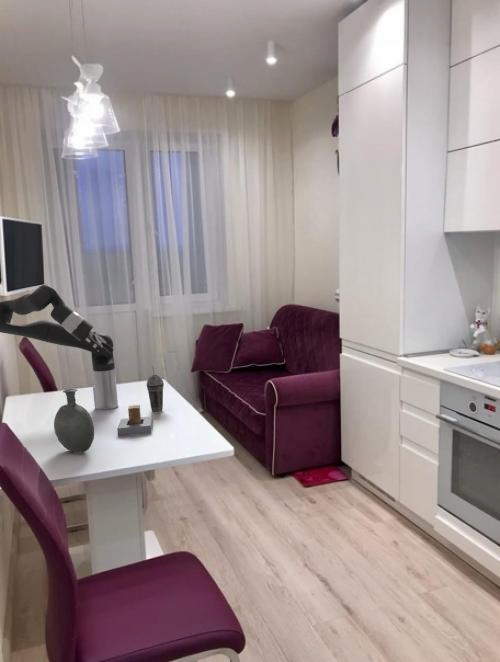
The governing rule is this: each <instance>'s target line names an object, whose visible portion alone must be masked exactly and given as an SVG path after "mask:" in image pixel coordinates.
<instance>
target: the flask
mask: <svg viewBox="0 0 500 662" xmlns="http://www.w3.org/2000/svg"><path fill="white" fill-rule="evenodd" d="M77 391H78V389H77V388H67V389H64V390H62V393H65V397H66V404H64V405H61V406H60V407H59V409H58V410H57V412H56V413H55V416H54V419H53V429H54V433H55V436H56V439H57V440H58V442H59V443H60V445H62V446H63V448H65V449H66V450H67V451H69V452H72V453H75V454H83V453H85V452H87V451H89V450H90V448H91V446H92V444H93V443H94V439H95V424H94V420H93V418H92V416H91V414H90V413H89V411H88V410H87V409H86V408H85V407H84V406H81V405H79V404H77V403H76V402H77V399H76V392H77Z"/></svg>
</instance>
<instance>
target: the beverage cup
mask: <svg viewBox="0 0 500 662" xmlns="http://www.w3.org/2000/svg"><path fill="white" fill-rule="evenodd" d="M151 366H152V373H153V374H152V375H150V377H148V379H147V381H146V388H147V393H148V397H149V404H150V409H151V412H152V413H153V412H158V413H161V411H162V410H164V409H163V407H164V405H163V404H164V403H163V402H164V401H163V400H164V380H163V378H162V377H161V376H160V375H158V374H155V367H154V365H151ZM162 412H163V411H162Z"/></svg>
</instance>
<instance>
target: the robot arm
mask: <svg viewBox="0 0 500 662" xmlns="http://www.w3.org/2000/svg"><path fill="white" fill-rule="evenodd" d="M50 304H51V306H52V307H53V308H52V310H51V311H50V317H51V318H52V319H53V320H50V319H41V320H38V321H34V322H31V323H27V324H26V323H25V324H12V323H11V322H12V319H13V316H14V313H15V314H16V315H20V316H25V315H29V314H32V313H34V312H41V311H43V310H44V309H46V308H47V307H48V306H49V305H50ZM93 329H94V326H93V325H92V323H90V322H89V321H88V320H86V319H85V318H84V317H83V316H81V315H80V314H78V313H77V312H76V311H74V310H73V309H72V308H71V307H69V306H68V305H67V304H66V303H65V301H64V300H63V298H61V296H60V294H59V293H58V292H57V290H56V289H55V288H54V287H52V286H51V285H48V284H42V285H40V286H38V287H37V288H36V289H35V290H34V291H33V292H32V293H27V294H24V295H21V296H19V297H18V298H14V299H10V300H4V301H0V333H1V334H8V335H14V336H18V337H19V336H20V337H23V338H24V337H25V338H30V339H33V340H37V341H41V342H45V343H50V344H54V345H59V346H65V347H70V348H77V349H82V350H84V351H87V352H90V354H91V362H92V363H91V364H92V372H93V382H94V383H93V384H94V386H93V387H92V390H93V391H92V392H93V401H94V408H95V409H97V410H98V411H99V410H100V411H107V410H112V409H115V408H118V407H119V401H118V389H117V388H118V387H117V378H116V367H115V359H114V342H113V341H114V340H113V339H112V338H111V336H110V335H109V334H108V333H105V332H98V333H97V332H96V331H93V332H92V330H93Z"/></svg>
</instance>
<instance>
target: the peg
mask: <svg viewBox="0 0 500 662" xmlns="http://www.w3.org/2000/svg"><path fill="white" fill-rule="evenodd" d="M127 410H128V411H127V412H128V418H129V425H135V424H141V417H142V416H141V415H142V414H141V405H140V404H135V405H128V409H127Z"/></svg>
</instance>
